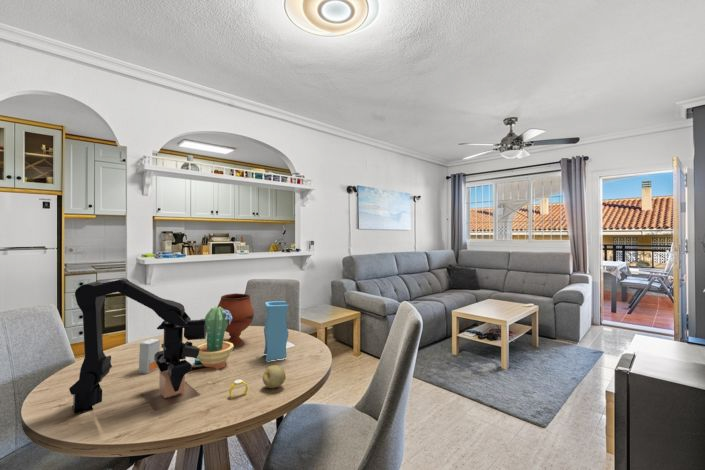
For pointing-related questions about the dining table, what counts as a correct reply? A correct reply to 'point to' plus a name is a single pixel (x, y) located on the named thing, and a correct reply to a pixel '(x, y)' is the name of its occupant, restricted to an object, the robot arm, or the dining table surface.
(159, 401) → the board
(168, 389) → the salmon pink rectangular prism
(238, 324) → the brown clay urn
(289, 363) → the dining table surface
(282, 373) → the fruit
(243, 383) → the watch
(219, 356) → the potted cactus
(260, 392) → the dining table surface
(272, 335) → the vase
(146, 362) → the skincare box
